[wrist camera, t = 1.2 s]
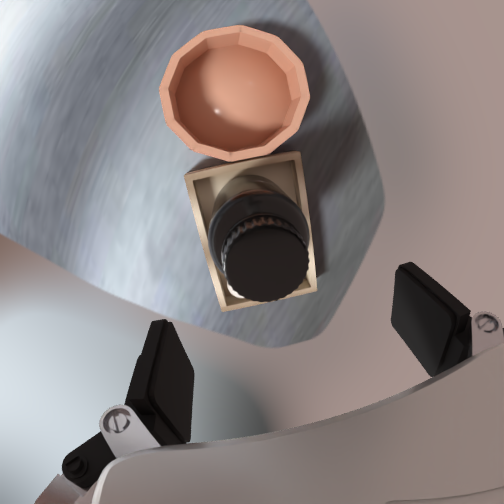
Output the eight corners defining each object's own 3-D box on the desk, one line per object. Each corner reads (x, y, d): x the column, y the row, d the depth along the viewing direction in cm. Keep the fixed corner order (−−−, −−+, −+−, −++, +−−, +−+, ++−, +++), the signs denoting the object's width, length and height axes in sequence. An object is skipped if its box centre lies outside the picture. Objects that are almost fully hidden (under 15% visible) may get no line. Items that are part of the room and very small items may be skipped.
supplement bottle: (277, 165, 24) (322, 191, 13) (291, 233, 27) (334, 301, 16) (204, 183, 24) (187, 223, 13) (222, 250, 27) (224, 329, 16)
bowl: (161, 57, 19) (150, 45, 16) (282, 35, 19) (291, 20, 16) (185, 168, 24) (177, 174, 20) (304, 144, 24) (319, 146, 20)
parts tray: (186, 172, 24) (184, 175, 22) (294, 150, 24) (300, 151, 22) (221, 301, 30) (222, 311, 28) (311, 281, 30) (317, 290, 28)
